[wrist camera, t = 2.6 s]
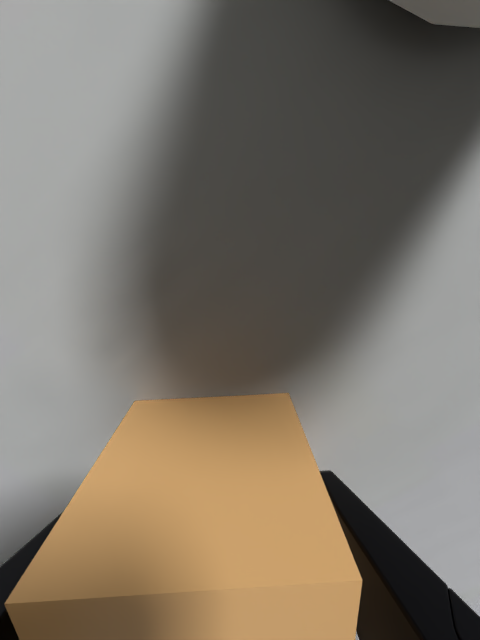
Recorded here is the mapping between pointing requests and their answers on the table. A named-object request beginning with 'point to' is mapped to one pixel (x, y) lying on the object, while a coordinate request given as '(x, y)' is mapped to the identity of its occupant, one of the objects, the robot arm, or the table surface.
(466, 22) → the can
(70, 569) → the ochre cube
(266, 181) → the table surface
